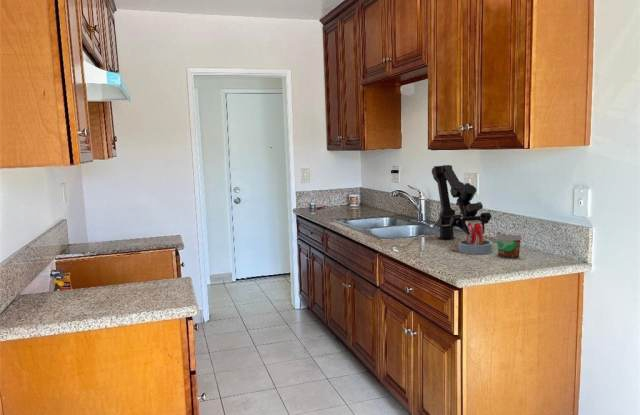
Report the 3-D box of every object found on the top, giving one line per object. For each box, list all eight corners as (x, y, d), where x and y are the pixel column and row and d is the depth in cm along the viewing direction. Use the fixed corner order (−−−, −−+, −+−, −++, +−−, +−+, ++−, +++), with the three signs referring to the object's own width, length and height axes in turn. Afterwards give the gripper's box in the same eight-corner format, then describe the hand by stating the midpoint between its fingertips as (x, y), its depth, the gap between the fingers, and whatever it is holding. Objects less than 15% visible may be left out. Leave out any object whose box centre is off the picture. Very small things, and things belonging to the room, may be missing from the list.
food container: (489, 255, 218) (489, 232, 217) (499, 253, 221) (499, 231, 220) (511, 260, 207) (511, 236, 206) (521, 258, 210) (521, 235, 209)
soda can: (463, 246, 229) (463, 221, 228) (475, 245, 232) (475, 220, 230) (474, 249, 223) (473, 223, 221) (486, 247, 226) (486, 222, 224)
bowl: (452, 251, 230) (452, 242, 229) (472, 246, 237) (472, 238, 237) (477, 255, 217) (477, 247, 217) (498, 250, 225) (498, 242, 225)
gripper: (451, 197, 227) (462, 225, 218) (489, 195, 230) (501, 222, 220) (445, 212, 236) (455, 239, 226) (481, 209, 238) (492, 236, 229)
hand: (476, 233), depth 225 cm, fingers closed on soda can, 7 cm apart
